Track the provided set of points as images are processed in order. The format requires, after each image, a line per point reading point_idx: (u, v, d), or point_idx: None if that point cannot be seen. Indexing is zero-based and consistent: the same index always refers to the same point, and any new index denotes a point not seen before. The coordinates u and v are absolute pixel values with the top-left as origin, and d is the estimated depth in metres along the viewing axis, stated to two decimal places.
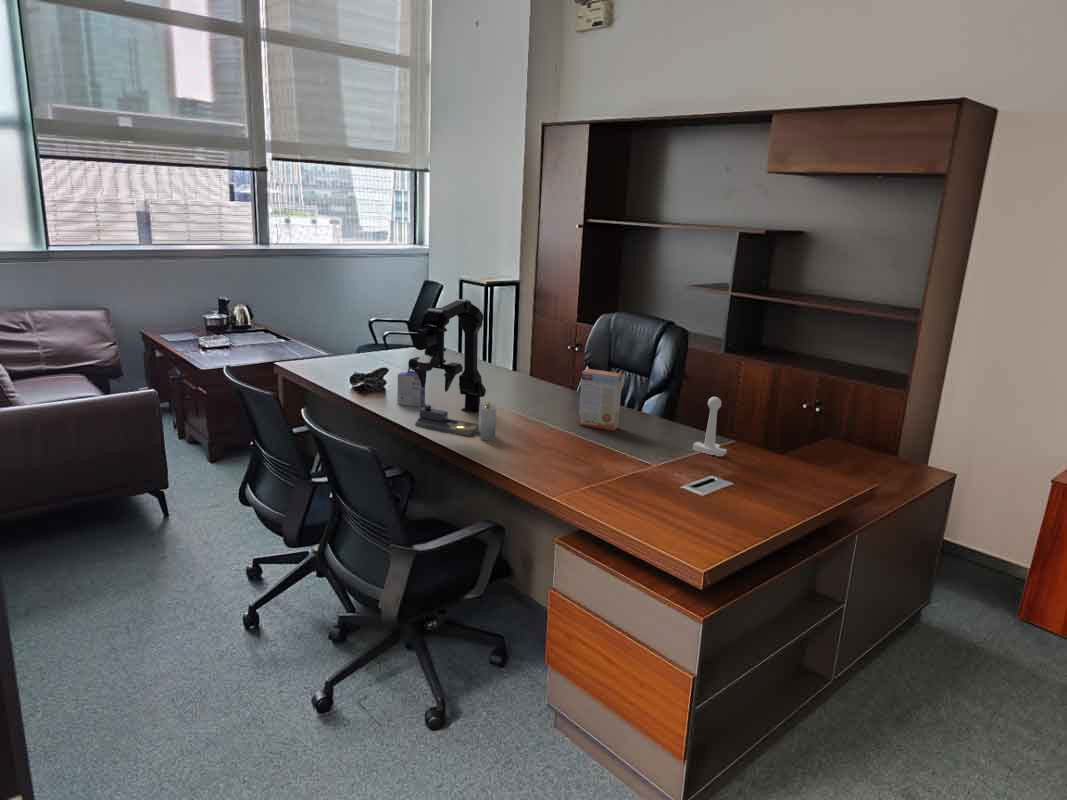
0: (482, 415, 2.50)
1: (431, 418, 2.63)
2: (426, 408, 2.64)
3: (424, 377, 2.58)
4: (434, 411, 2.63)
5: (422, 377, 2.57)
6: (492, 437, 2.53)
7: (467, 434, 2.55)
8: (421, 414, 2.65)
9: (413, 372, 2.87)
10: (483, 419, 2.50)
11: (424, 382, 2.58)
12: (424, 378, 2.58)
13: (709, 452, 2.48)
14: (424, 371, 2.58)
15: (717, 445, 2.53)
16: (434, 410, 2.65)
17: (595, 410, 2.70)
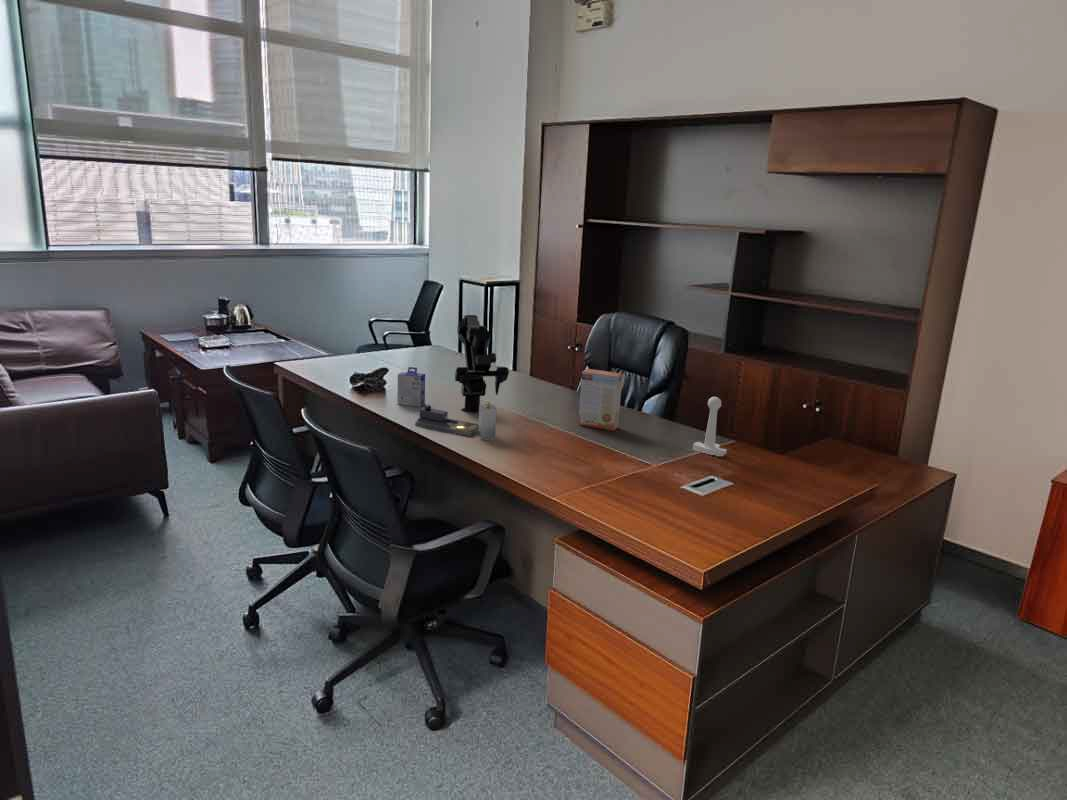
0: (482, 415, 2.50)
1: (431, 418, 2.63)
2: (426, 408, 2.64)
3: None
4: (434, 411, 2.63)
5: None
6: (492, 437, 2.53)
7: (467, 434, 2.55)
8: (421, 414, 2.65)
9: (413, 372, 2.87)
10: (483, 419, 2.50)
11: None
12: None
13: (709, 452, 2.48)
14: None
15: (717, 445, 2.53)
16: (434, 410, 2.65)
17: (595, 410, 2.70)
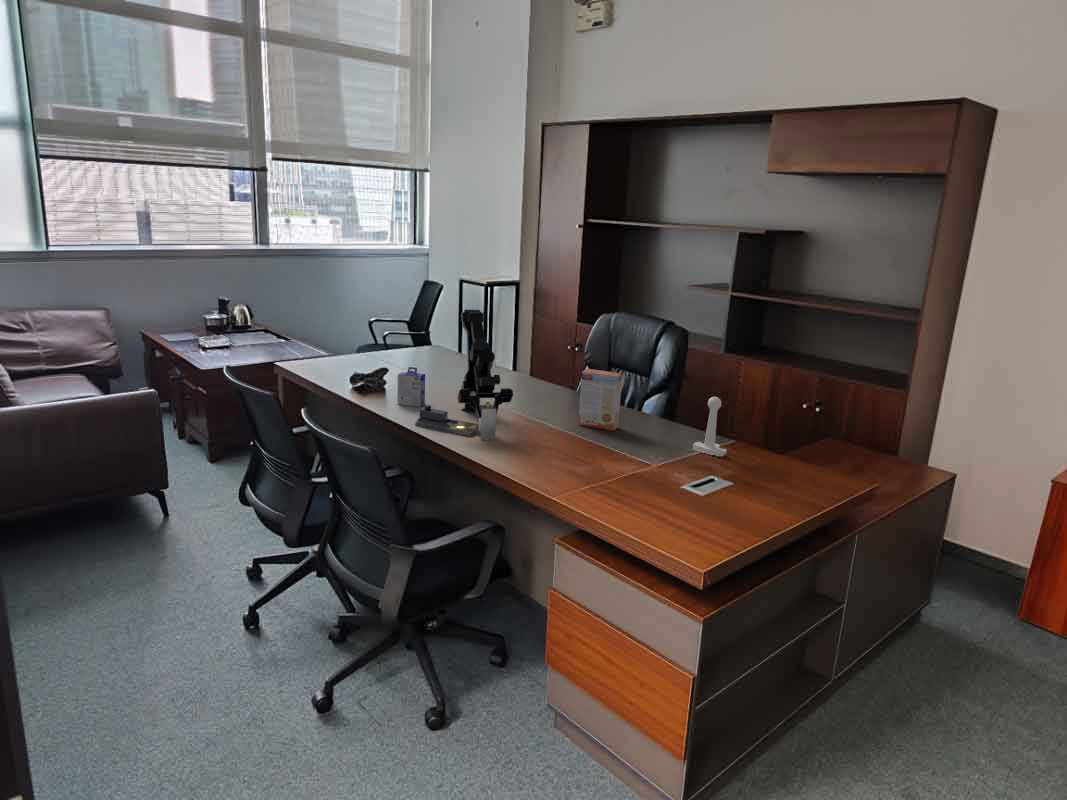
0: (482, 415, 2.50)
1: (431, 418, 2.63)
2: (426, 408, 2.64)
3: None
4: (434, 411, 2.63)
5: None
6: (492, 437, 2.53)
7: (467, 434, 2.55)
8: (421, 414, 2.65)
9: (413, 372, 2.87)
10: (483, 419, 2.50)
11: None
12: None
13: (709, 452, 2.48)
14: None
15: (717, 445, 2.53)
16: (434, 410, 2.65)
17: (595, 410, 2.70)
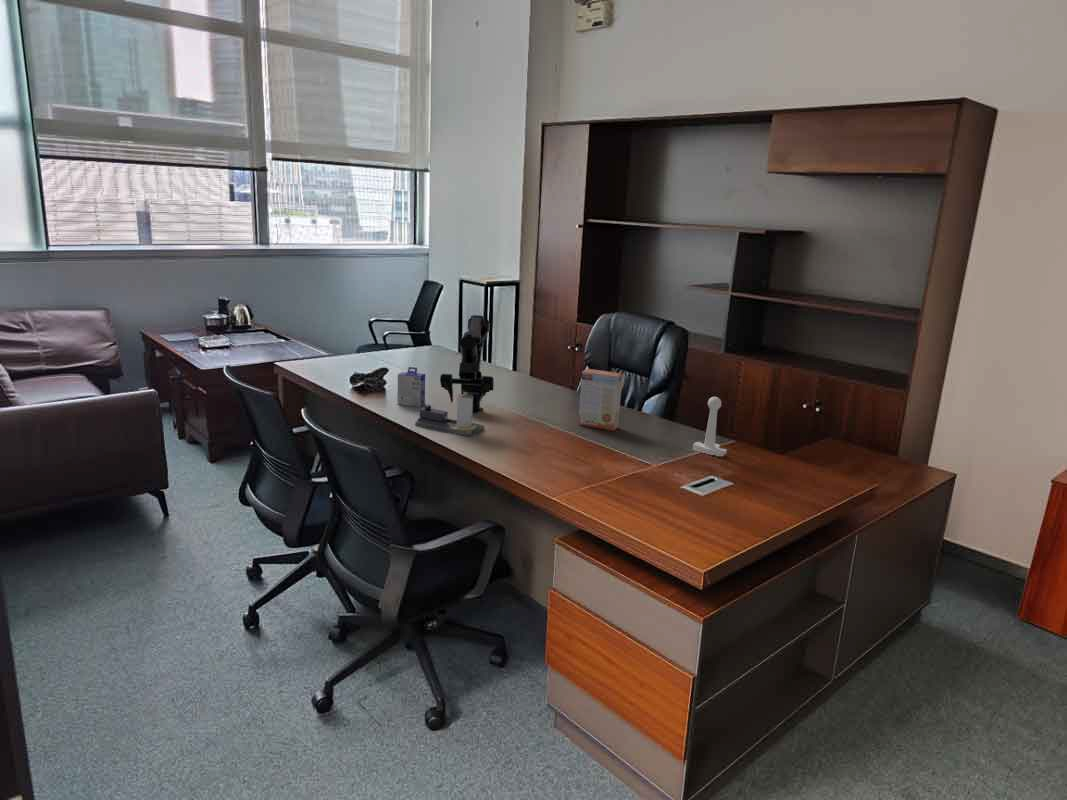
0: (458, 403, 2.56)
1: (431, 418, 2.63)
2: (426, 408, 2.64)
3: (452, 394, 2.59)
4: (434, 411, 2.63)
5: (452, 392, 2.58)
6: (468, 426, 2.58)
7: (467, 434, 2.55)
8: (421, 414, 2.65)
9: (413, 372, 2.87)
10: (458, 407, 2.56)
11: (452, 398, 2.58)
12: None
13: (709, 452, 2.48)
14: (452, 389, 2.61)
15: (717, 445, 2.53)
16: (434, 410, 2.65)
17: (595, 410, 2.70)
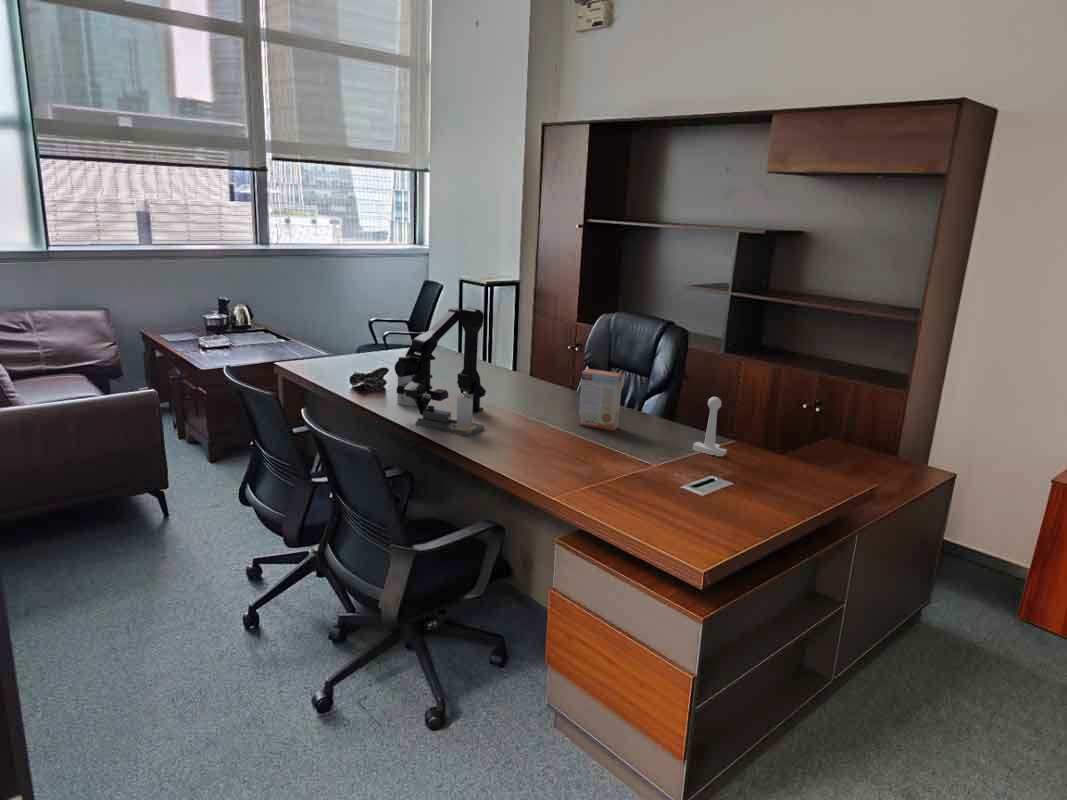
0: (458, 403, 2.56)
1: (434, 419, 2.63)
2: (429, 409, 2.63)
3: None
4: (437, 412, 2.63)
5: (420, 405, 2.65)
6: (468, 426, 2.58)
7: (467, 434, 2.55)
8: (424, 414, 2.64)
9: None
10: (458, 407, 2.56)
11: None
12: None
13: (709, 452, 2.48)
14: None
15: (717, 445, 2.53)
16: (437, 411, 2.64)
17: (595, 410, 2.70)
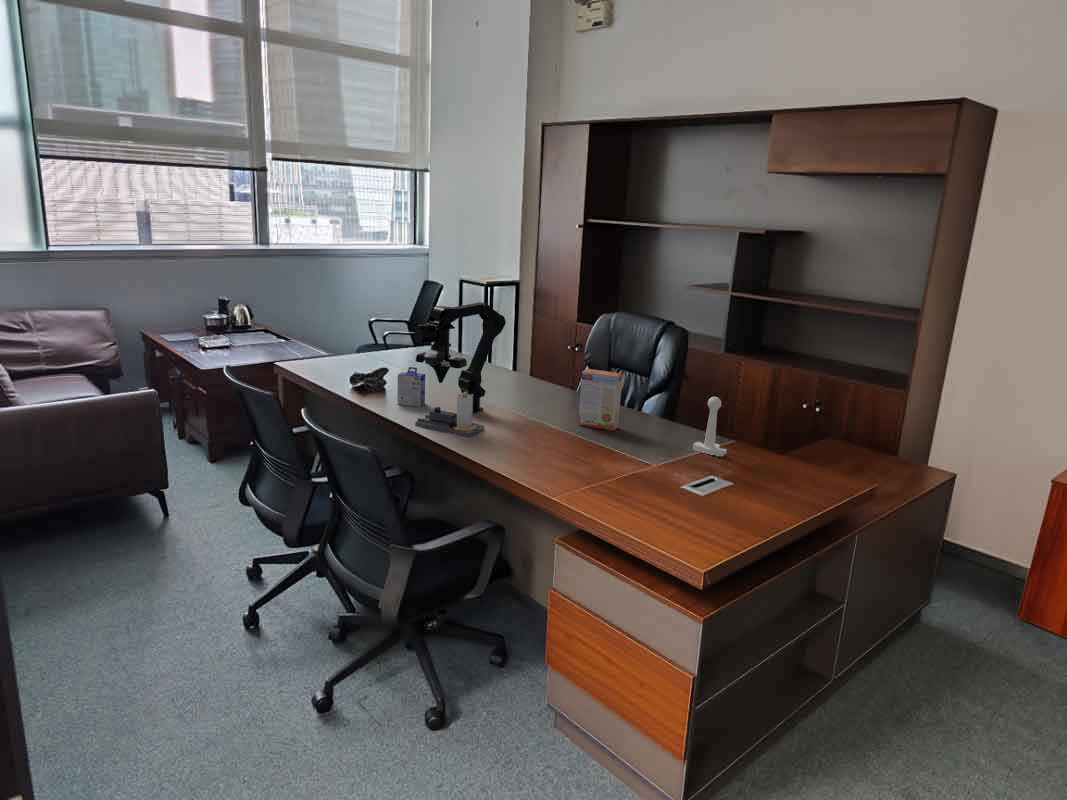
0: (458, 403, 2.56)
1: (441, 420, 2.62)
2: (436, 410, 2.62)
3: None
4: (444, 413, 2.62)
5: (439, 373, 2.71)
6: (468, 426, 2.58)
7: (467, 434, 2.55)
8: (431, 416, 2.63)
9: (413, 372, 2.87)
10: (458, 407, 2.56)
11: None
12: None
13: (709, 452, 2.48)
14: None
15: (717, 445, 2.53)
16: (444, 412, 2.63)
17: (595, 410, 2.70)
